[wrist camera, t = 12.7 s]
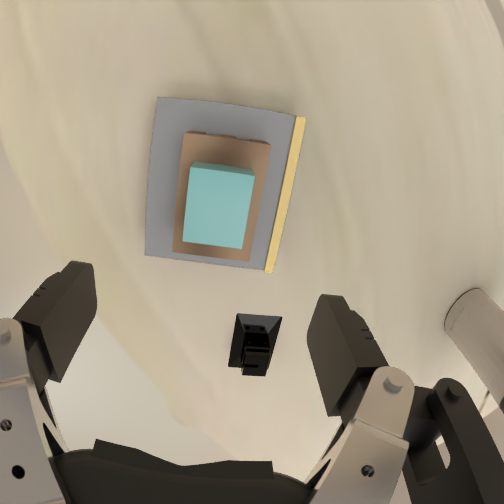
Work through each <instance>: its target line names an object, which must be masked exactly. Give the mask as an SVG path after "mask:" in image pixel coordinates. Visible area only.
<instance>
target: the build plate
mask: <svg viewBox="0 0 504 504" xmlns="http://www.w3.org/2000/svg"><path fill="white" fill-rule="evenodd" d="M281 321H282V317H279V316H265V315H252V314H240V313H238V314H237V316H236V321H235V327H234V333H233V339H232V345H231V351H230V357H229V363H228V367H238V368H241V371H242V375H248V376H265V375H266V372H267V369H268V368H269V364H270V361H271V357H272V354H273V350H274V346H275V343H276V339H277V336H278V332H279V328H280V325H281Z"/></svg>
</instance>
